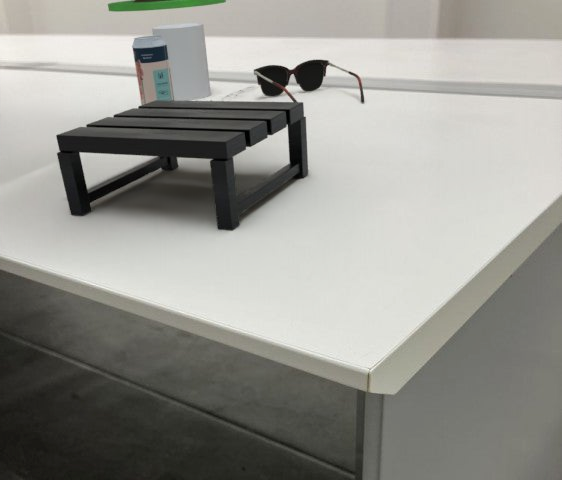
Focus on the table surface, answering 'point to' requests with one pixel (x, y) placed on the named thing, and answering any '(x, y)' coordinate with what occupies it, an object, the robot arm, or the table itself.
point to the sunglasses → (296, 77)
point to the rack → (186, 147)
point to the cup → (186, 60)
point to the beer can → (152, 69)
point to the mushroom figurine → (158, 4)
